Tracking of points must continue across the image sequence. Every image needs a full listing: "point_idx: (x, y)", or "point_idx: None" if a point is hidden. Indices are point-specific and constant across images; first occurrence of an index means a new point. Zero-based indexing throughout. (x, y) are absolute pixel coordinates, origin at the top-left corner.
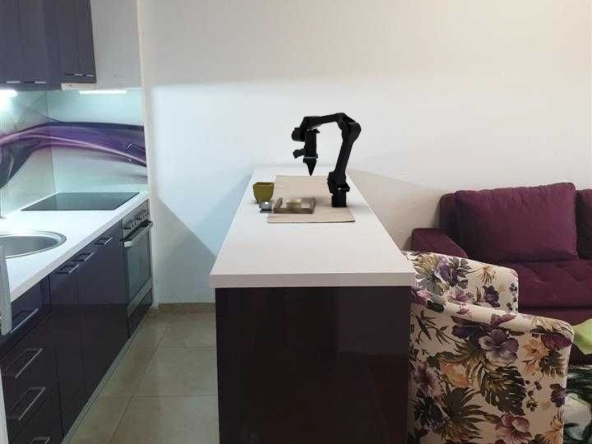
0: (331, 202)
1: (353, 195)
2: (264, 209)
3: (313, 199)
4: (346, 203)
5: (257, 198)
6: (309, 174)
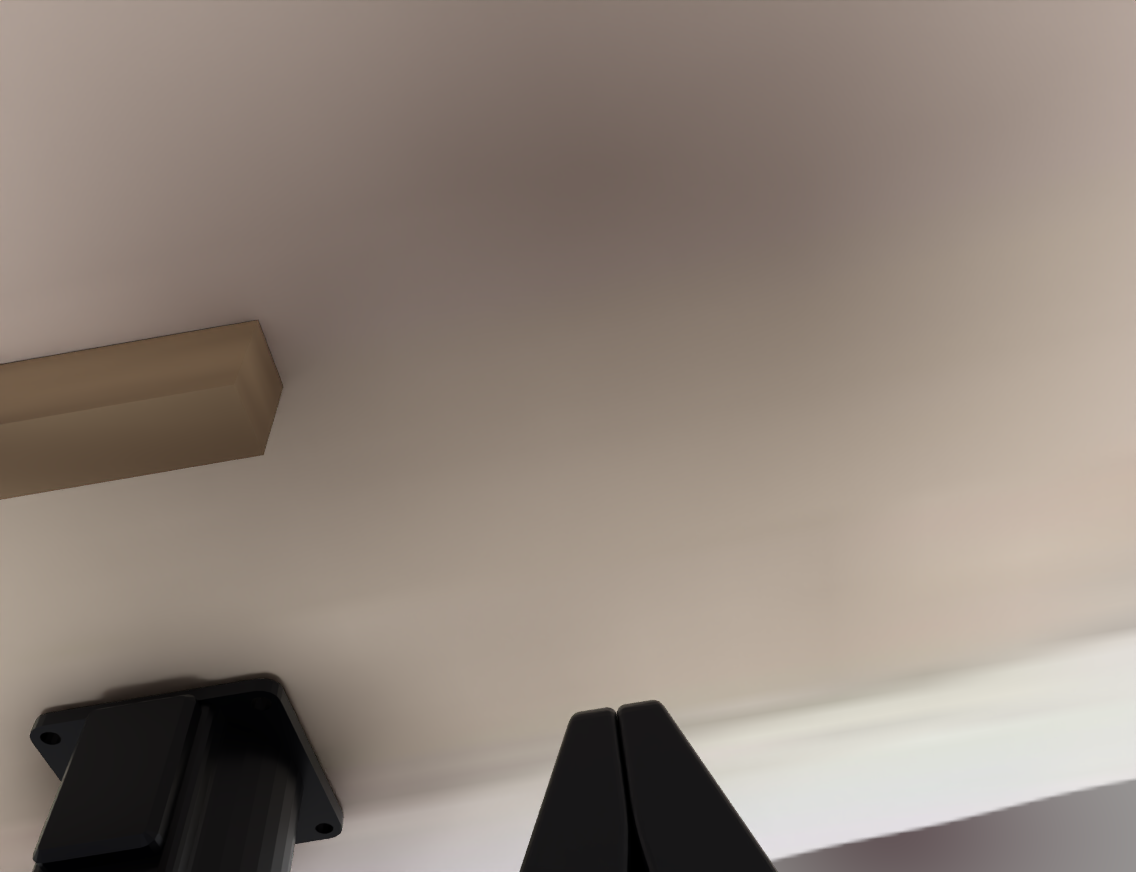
0: (76, 746)
1: (1095, 762)
2: None
3: (59, 457)
4: (329, 836)
5: None
6: (560, 767)
